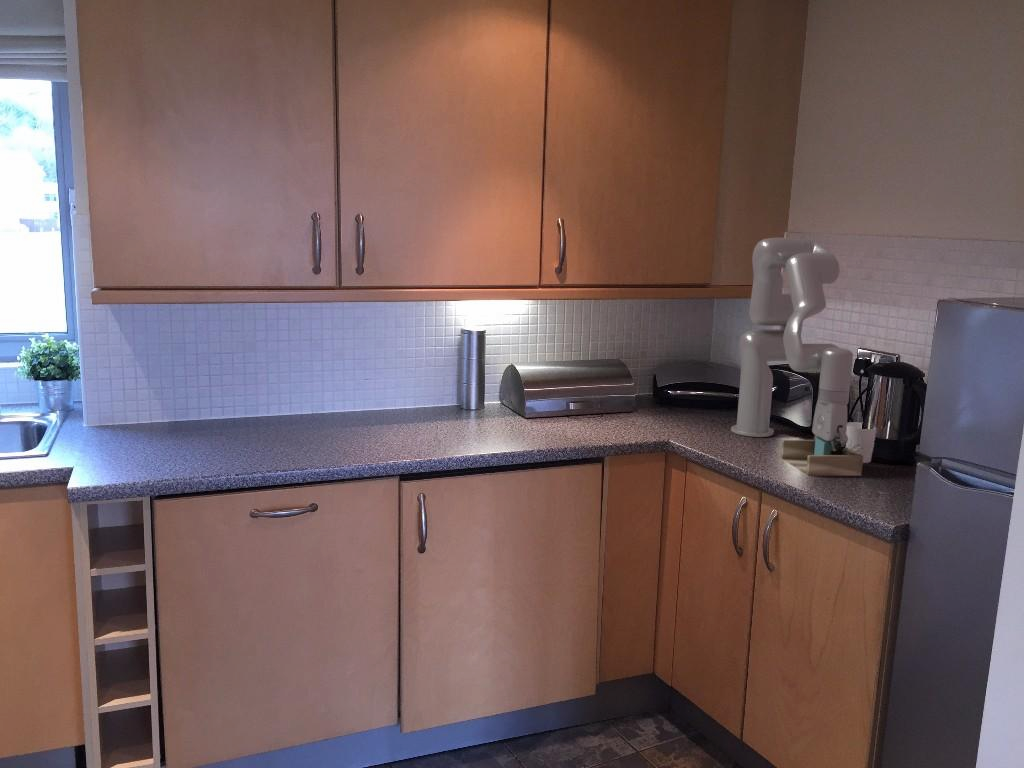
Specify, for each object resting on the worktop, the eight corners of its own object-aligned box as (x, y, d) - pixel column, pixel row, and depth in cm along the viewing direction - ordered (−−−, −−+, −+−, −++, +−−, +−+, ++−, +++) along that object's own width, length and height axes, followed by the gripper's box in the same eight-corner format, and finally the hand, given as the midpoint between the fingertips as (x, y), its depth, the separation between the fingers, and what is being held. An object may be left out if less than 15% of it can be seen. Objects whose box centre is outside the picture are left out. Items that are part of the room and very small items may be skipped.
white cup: (865, 457, 242) (869, 422, 240) (877, 465, 234) (881, 429, 232) (837, 457, 242) (840, 421, 240) (848, 465, 234) (852, 428, 232)
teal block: (813, 463, 232) (815, 438, 231) (831, 463, 233) (833, 438, 231) (821, 468, 227) (824, 442, 226) (840, 468, 228) (842, 442, 227)
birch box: (780, 459, 237) (782, 439, 236) (830, 459, 239) (832, 439, 238) (807, 477, 221) (809, 456, 220) (861, 477, 223) (863, 456, 222)
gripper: (804, 389, 235) (799, 452, 238) (835, 402, 218) (829, 470, 221) (831, 389, 235) (825, 452, 239) (864, 403, 218) (857, 470, 222)
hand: (827, 460), depth 230 cm, fingers open, 8 cm apart
